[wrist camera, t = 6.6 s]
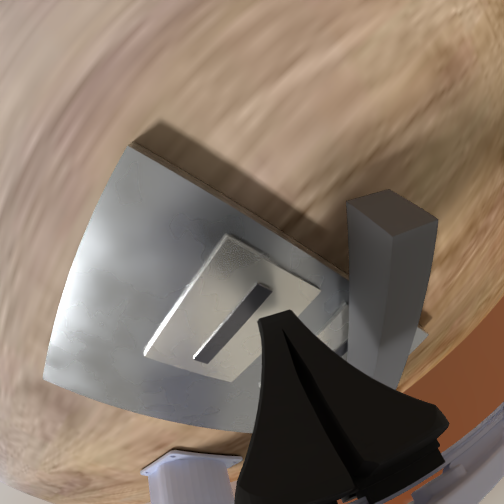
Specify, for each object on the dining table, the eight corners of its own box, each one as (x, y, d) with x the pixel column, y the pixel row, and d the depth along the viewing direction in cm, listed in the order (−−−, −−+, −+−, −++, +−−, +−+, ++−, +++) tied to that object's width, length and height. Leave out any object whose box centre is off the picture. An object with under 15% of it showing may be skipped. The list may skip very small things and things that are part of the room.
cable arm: (335, 413, 19) (351, 447, 16) (330, 204, 10) (385, 251, 7) (370, 397, 20) (388, 429, 17) (398, 185, 10) (459, 221, 7)
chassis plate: (303, 427, 23) (308, 438, 22) (46, 366, 13) (41, 382, 12) (421, 326, 19) (430, 337, 18) (132, 141, 9) (125, 147, 8)
